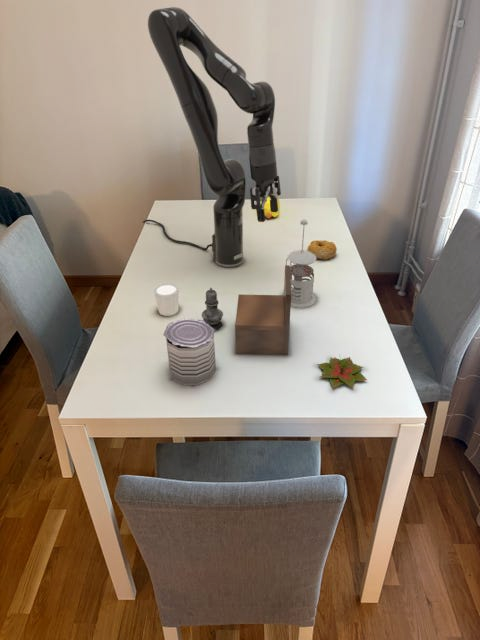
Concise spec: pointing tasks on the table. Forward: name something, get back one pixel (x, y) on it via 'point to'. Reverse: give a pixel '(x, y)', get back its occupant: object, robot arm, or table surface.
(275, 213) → the yellow lumpy bar
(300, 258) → the french press
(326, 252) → the bagel
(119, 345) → the table surface
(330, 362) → the succulent plant
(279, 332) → the l-shaped wooden block
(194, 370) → the can
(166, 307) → the white short cylinder
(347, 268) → the table surface
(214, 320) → the chess piece
